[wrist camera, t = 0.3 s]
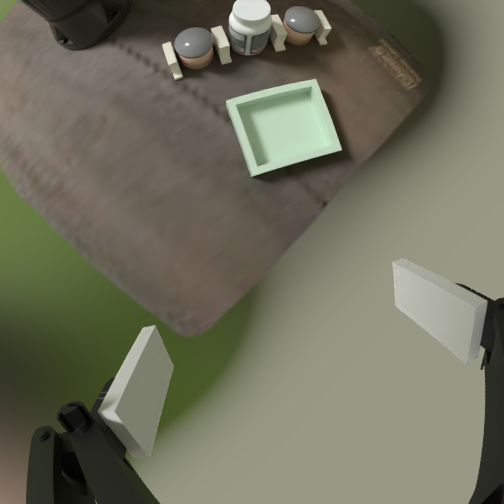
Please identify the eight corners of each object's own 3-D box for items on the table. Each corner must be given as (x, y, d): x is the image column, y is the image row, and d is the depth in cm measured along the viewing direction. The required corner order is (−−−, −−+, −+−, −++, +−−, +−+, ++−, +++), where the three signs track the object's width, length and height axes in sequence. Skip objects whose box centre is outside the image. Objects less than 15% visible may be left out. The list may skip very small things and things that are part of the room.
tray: (226, 106, 36) (226, 100, 33) (310, 85, 36) (315, 79, 33) (251, 177, 39) (252, 176, 36) (334, 152, 39) (341, 150, 36)
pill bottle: (265, 28, 33) (274, -6, 24) (267, 56, 35) (277, 24, 25) (228, 29, 33) (228, -7, 23) (229, 56, 34) (229, 23, 25)
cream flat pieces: (166, 51, 33) (160, 39, 29) (312, 17, 33) (318, 5, 29) (175, 80, 35) (170, 70, 31) (326, 44, 34) (334, 33, 31)
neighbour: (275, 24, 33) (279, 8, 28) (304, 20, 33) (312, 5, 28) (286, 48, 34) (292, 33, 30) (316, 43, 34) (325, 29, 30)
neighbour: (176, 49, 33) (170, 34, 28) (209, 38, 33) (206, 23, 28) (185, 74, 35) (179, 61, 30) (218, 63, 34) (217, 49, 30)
